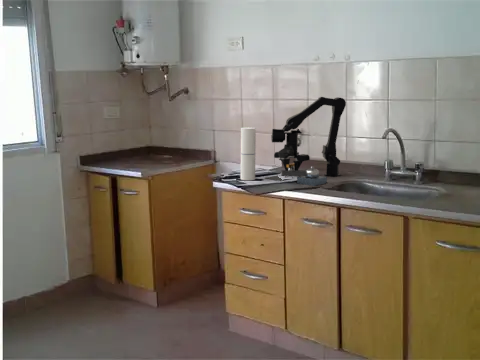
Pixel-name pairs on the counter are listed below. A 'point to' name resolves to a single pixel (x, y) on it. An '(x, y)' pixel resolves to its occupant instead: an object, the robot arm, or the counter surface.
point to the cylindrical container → (248, 153)
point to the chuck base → (312, 180)
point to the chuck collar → (301, 172)
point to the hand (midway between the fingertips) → (291, 173)
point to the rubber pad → (274, 178)
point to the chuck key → (290, 166)
